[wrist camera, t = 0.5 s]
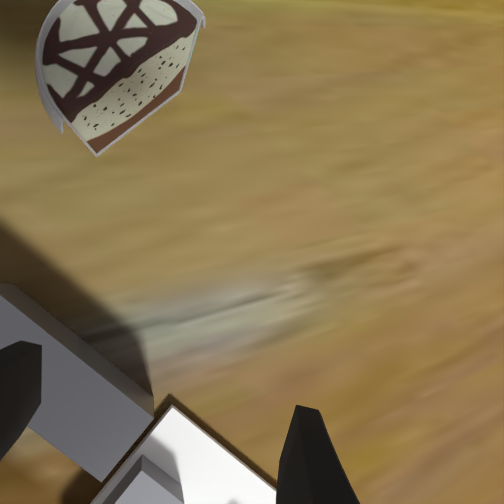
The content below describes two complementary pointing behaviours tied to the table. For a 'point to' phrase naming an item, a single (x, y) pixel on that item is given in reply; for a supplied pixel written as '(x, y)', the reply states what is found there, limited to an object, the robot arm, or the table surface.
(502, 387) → the table surface
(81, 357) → the glasses case
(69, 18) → the food container
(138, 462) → the stand
